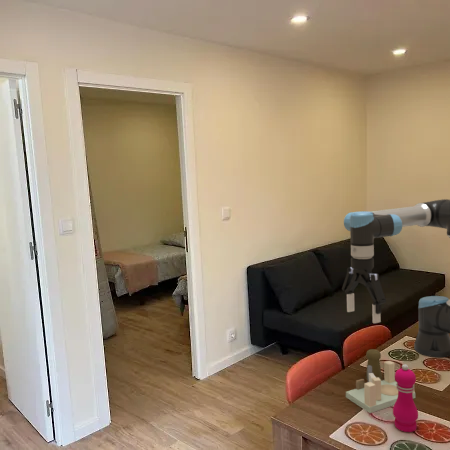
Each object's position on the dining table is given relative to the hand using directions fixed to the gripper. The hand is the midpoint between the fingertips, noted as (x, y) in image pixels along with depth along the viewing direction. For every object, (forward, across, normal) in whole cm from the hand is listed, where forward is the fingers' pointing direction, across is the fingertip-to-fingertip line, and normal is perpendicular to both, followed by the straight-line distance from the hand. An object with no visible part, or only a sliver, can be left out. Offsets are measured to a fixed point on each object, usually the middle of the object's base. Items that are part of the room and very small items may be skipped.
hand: (363, 316), depth 157 cm
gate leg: (+26, +6, -1) cm, 26 cm away
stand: (+28, +5, +2) cm, 28 cm away
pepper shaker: (+28, -7, +10) cm, 31 cm away
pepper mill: (+28, +22, -3) cm, 36 cm away
